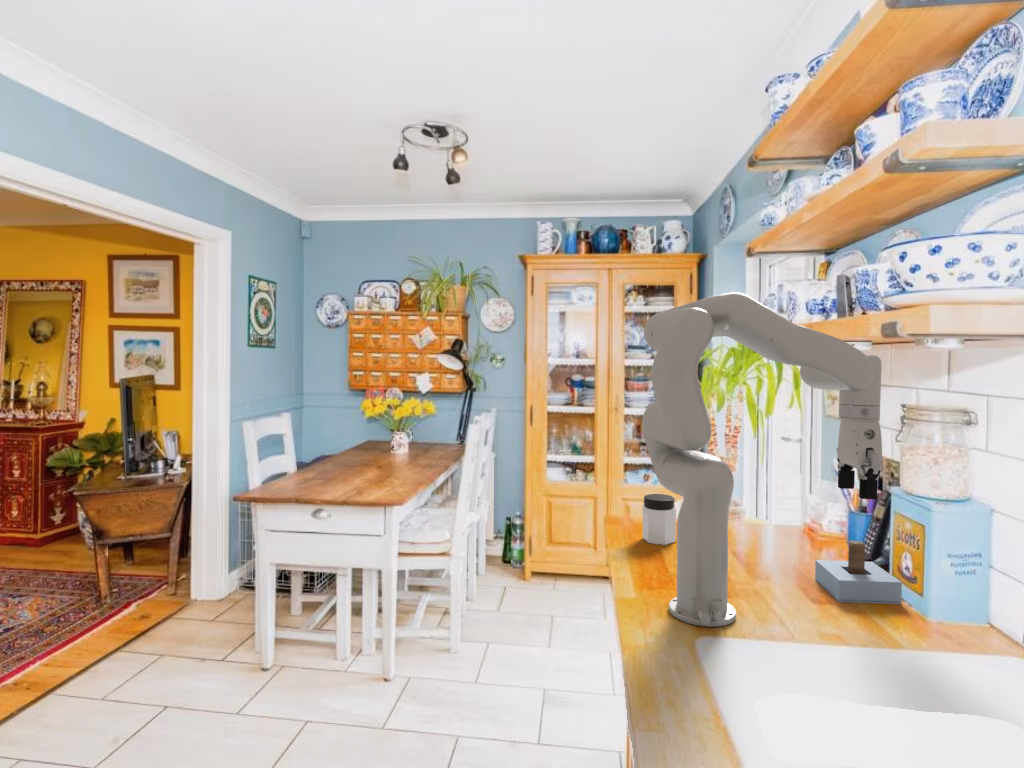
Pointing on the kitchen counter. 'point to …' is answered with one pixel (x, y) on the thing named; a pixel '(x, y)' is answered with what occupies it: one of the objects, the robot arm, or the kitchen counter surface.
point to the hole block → (858, 583)
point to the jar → (659, 519)
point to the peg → (856, 557)
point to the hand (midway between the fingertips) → (856, 493)
